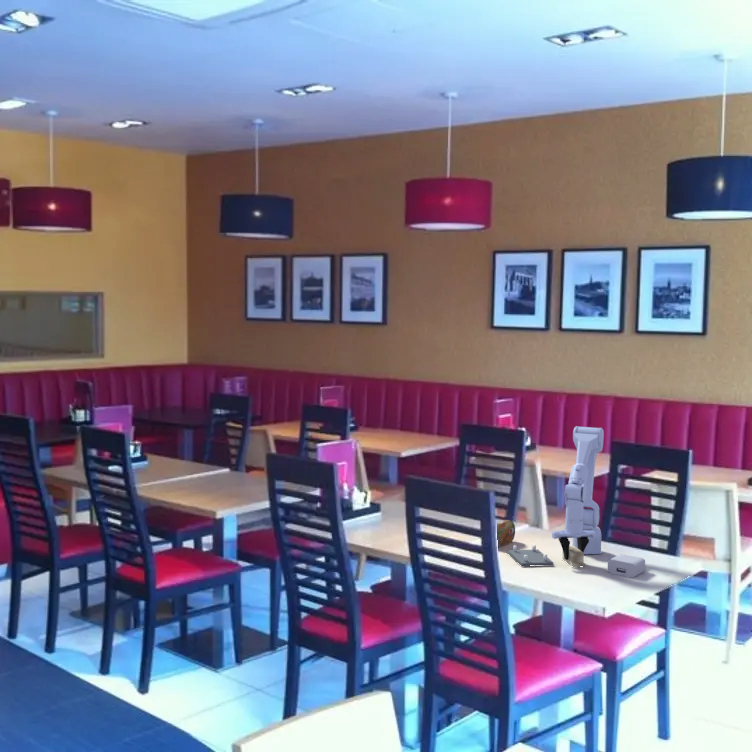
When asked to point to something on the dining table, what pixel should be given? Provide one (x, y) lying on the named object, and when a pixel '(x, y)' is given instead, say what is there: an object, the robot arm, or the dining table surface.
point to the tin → (505, 532)
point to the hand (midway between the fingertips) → (572, 558)
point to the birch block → (575, 557)
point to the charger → (626, 565)
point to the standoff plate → (529, 557)
